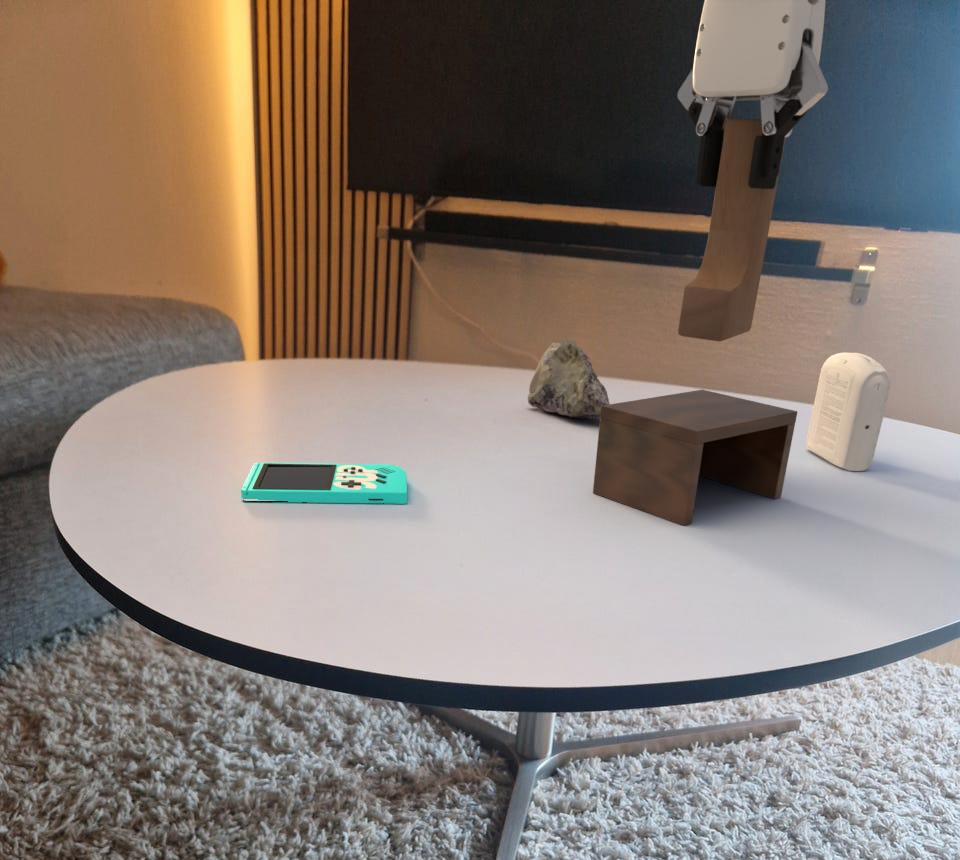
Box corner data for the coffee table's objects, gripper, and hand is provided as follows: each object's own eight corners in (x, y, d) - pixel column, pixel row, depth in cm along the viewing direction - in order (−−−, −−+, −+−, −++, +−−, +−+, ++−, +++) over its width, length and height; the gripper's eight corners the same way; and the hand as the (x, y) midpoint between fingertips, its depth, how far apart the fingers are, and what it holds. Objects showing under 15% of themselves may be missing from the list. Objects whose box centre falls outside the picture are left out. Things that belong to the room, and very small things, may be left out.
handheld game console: (407, 504, 90) (407, 491, 89) (239, 502, 89) (238, 489, 88) (406, 474, 99) (406, 462, 98) (254, 472, 98) (253, 460, 97)
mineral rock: (613, 429, 121) (621, 350, 116) (530, 426, 120) (536, 347, 116) (601, 407, 132) (608, 334, 128) (525, 404, 132) (530, 331, 127)
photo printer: (876, 471, 108) (902, 362, 102) (842, 472, 107) (866, 362, 101) (831, 448, 117) (852, 346, 111) (799, 448, 116) (819, 346, 110)
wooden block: (722, 342, 84) (761, 115, 76) (675, 335, 86) (708, 113, 78) (751, 332, 91) (789, 122, 83) (707, 326, 93) (740, 121, 85)
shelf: (781, 497, 97) (797, 411, 93) (683, 525, 88) (697, 431, 84) (690, 469, 105) (702, 389, 101) (592, 493, 96) (601, 405, 92)
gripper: (893, -71, 71) (843, 192, 79) (713, -41, 83) (686, 185, 91) (840, -90, 67) (793, 189, 75) (659, -56, 78) (635, 183, 87)
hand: (734, 184), depth 83 cm, fingers closed on wooden block, 4 cm apart
